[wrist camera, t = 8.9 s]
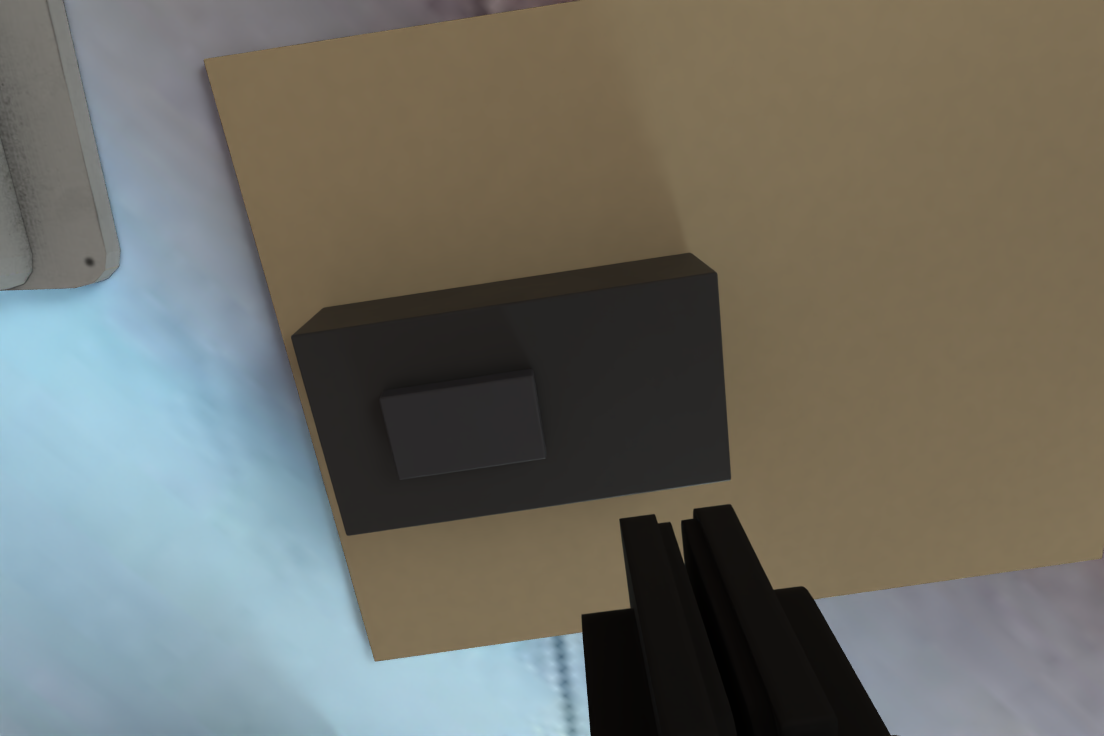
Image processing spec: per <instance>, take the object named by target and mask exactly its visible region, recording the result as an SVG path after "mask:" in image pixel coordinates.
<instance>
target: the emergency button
mask: <svg viewBox="0 0 1104 736" xmlns="http://www.w3.org/2000/svg"><path fill="white" fill-rule="evenodd" d="M119 260H120V246H119V242H118V238H117V233H116V229H115V225H114V220H113V216H112V212H111V207H110V203H109V198H108V194H107V190H106V185H105V181H104V177H103V172H102V168H101V164H100V159H99V155H98V151H97V146H96V142H95V137H94V133H93V129H92V124H91V120H90V116H89V111H88V107H87V103H86V98H85V94H84V90H83V85H82V81H81V76H80V72H79V68H78V63H77V59H76V55H75V50H74V46H73V42H72V37H71V33H70V29H69V24H68V20H67V15H66V11H65V7H64V2H63V0H0V291H4V290H34V289H64V288H77V287H81V286H85V285H89V284H92V283H96V282H99V281H102V280H105V279H108V278H109V277H110V276H111V275H112V274H113V272H114V271H115V270H116V269H117V268H118V267H119Z"/></svg>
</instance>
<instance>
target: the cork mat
mask: <svg viewBox="0 0 1104 736" xmlns="http://www.w3.org/2000/svg"><path fill="white" fill-rule="evenodd" d="M204 63H205V67H206V71H207V74H208V78H209V81H210V85H211V88H212V92H213V95H214V99H215V102H216V106H217V109H218V113H219V116H220V120H221V123H222V127H223V130H224V134H225V137H226V141H227V144H228V148H229V151H230V155H231V158H232V162H233V165H234V169H235V172H236V176H237V179H238V183H239V186H240V190H241V193H242V197H243V200H244V204H245V207H246V211H247V214H248V218H249V221H250V225H251V229H252V232H253V236H254V239H255V243H256V246H257V250H258V253H259V257H260V260H261V264H262V267H263V271H264V274H265V278H266V281H267V285H268V288H269V292H270V295H271V299H272V302H273V306H274V309H275V313H276V316H277V320H278V323H279V327H280V330H281V334H282V337H283V341H284V344H285V348H286V351H287V355H288V358H289V362H290V365H291V369H292V372H293V376H294V379H295V383H296V387H297V390H298V394H299V397H300V401H301V404H302V408H303V411H304V415H305V418H306V422H307V425H308V429H309V432H310V436H311V439H312V443H313V446H314V450H315V453H316V457H317V460H318V464H319V467H320V471H321V474H322V478H323V481H324V485H325V488H326V492H327V495H328V499H329V502H330V506H331V509H332V513H333V516H334V520H335V523H336V527H337V530H338V534H339V537H340V541H341V545H342V548H343V552H344V555H345V559H346V562H347V566H348V569H349V573H350V576H351V580H352V583H353V587H354V590H355V594H356V597H357V601H358V604H359V608H360V611H361V615H362V618H363V622H364V625H365V629H366V632H367V636H368V639H369V643H370V646H371V650H372V653H373V657H374V660H375V661H383V660H390V659H397V658H404V657H411V656H418V655H425V654H432V653H439V652H446V651H453V650H460V649H467V648H474V647H481V646H488V645H495V644H502V643H509V642H516V641H523V640H530V639H538V638H545V637H552V636H559V635H566V634H573V633H580V632H582V620H581V614H589V613H596V612H604V611H612V610H620V609H627V608H630V601H629V593H628V585H627V577H626V570H625V562H624V554H623V547H622V539H621V531H620V522H619V519H620V518H627V517H635V516H642V515H650V514H655V516H656V519H657V522H658V523H664V522H671V524H672V527H673V530H674V533H675V536H676V539H677V542H678V546H679V549H680V552H681V555H682V558H683V561H684V553H683V542H682V532H681V520H686V519H693V510H694V509H695V508H702V507H710V506H717V505H725V504H731V505H732V507H733V509H734V511H735V513H736V515H737V517H738V519H739V521H740V523H741V525H742V527H743V529H744V531H745V533H746V535H747V537H748V539H749V541H750V543H751V545H752V547H753V549H754V551H755V553H756V555H757V557H758V559H759V561H760V563H761V565H762V567H763V569H764V571H765V573H766V575H767V577H768V579H769V581H770V583H771V586H772V588H773V590H774V589H782V588H790V587H798V586H803V587H805V588H806V589H807V590H808V591H809V593H810V594H811V596H812V597H813V599H819V598H826V597H833V596H840V595H847V594H855V593H862V592H869V591H876V590H883V589H890V588H897V587H904V586H911V585H918V584H925V583H932V582H939V581H946V580H953V579H960V578H967V577H974V576H981V575H988V574H995V573H1002V572H1009V571H1017V570H1024V569H1031V568H1038V567H1045V566H1052V565H1059V564H1066V563H1073V562H1080V561H1087V560H1094V559H1101V558H1102V553H1103V545H1104V0H579V1H573V2H566V3H560V4H554V5H547V6H541V7H534V8H528V9H522V10H515V11H509V12H503V13H496V14H490V15H483V16H477V17H471V18H464V19H458V20H451V21H445V22H439V23H432V24H426V25H419V26H413V27H407V28H400V29H394V30H387V31H381V32H375V33H368V34H362V35H355V36H349V37H343V38H336V39H330V40H323V41H317V42H311V43H304V44H298V45H292V46H285V47H279V48H272V49H266V50H260V51H253V52H247V53H240V54H234V55H228V56H221V57H215V58H208V59H204ZM683 253H692V254H694V255H695V256H696V257H697V258H699V259H700V260H701V261H703V262H704V263H705V264H707V265H708V266H709V267H710V268H712V269H713V270H714V271H716V272H717V274H718V288H719V303H720V317H721V332H722V347H723V362H724V377H725V392H726V407H727V421H728V436H729V451H730V466H731V480H730V481H724V482H717V483H710V484H703V485H696V486H689V487H682V488H675V489H668V490H662V491H655V492H648V493H641V494H634V495H627V496H620V497H613V498H606V499H599V500H593V501H586V502H579V503H572V504H565V505H558V506H551V507H544V508H537V509H530V510H524V511H517V512H510V513H503V514H496V515H489V516H482V517H475V518H468V519H461V520H455V521H448V522H441V523H434V524H427V525H420V526H413V527H406V528H399V529H392V530H386V531H379V532H372V533H365V534H358V535H351V536H347V535H346V532H345V529H344V525H343V522H342V518H341V515H340V511H339V507H338V504H337V500H336V497H335V493H334V490H333V486H332V483H331V479H330V475H329V472H328V468H327V465H326V461H325V458H324V454H323V450H322V447H321V443H320V440H319V436H318V433H317V429H316V426H315V422H314V418H313V415H312V411H311V408H310V404H309V401H308V397H307V394H306V390H305V386H304V383H303V379H302V376H301V372H300V369H299V365H298V361H297V358H296V354H295V351H294V347H293V344H292V340H291V336H292V335H293V334H294V333H295V332H296V331H297V330H298V329H300V328H301V327H302V326H303V325H304V324H305V323H306V322H307V321H309V320H310V319H311V318H312V317H313V316H314V315H315V314H317V313H318V312H319V311H320V310H321V309H322V308H324V307H330V306H337V305H344V304H350V303H357V302H364V301H370V300H377V299H384V298H390V297H397V296H404V295H410V294H417V293H424V292H430V291H437V290H444V289H450V288H457V287H464V286H470V285H477V284H484V283H490V282H497V281H503V280H510V279H517V278H523V277H530V276H537V275H543V274H550V273H557V272H563V271H570V270H577V269H583V268H590V267H597V266H603V265H610V264H617V263H623V262H630V261H637V260H643V259H650V258H657V257H663V256H670V255H677V254H683ZM684 564H685V563H684Z"/></svg>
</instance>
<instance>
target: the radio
mask: <svg viewBox="0 0 1104 736" xmlns="http://www.w3.org/2000/svg"><path fill="white" fill-rule="evenodd" d="M291 340H292V344H293V347H294V351H295V354H296V358H297V361H298V365H299V369H300V372H301V376H302V379H303V383H304V386H305V390H306V394H307V397H308V401H309V404H310V408H311V411H312V415H313V418H314V422H315V426H316V429H317V433H318V436H319V440H320V443H321V447H322V450H323V454H324V458H325V461H326V465H327V468H328V472H329V475H330V479H331V483H332V486H333V490H334V493H335V497H336V500H337V504H338V507H339V511H340V515H341V518H342V522H343V525H344V529H345V532H346V535H347V536H351V535H358V534H365V533H372V532H379V531H386V530H392V529H399V528H406V527H413V526H420V525H427V524H434V523H441V522H448V521H455V520H461V519H468V518H475V517H482V516H489V515H496V514H503V513H510V512H517V511H524V510H530V509H537V508H544V507H551V506H558V505H565V504H572V503H579V502H586V501H593V500H599V499H606V498H613V497H620V496H627V495H634V494H641V493H648V492H655V491H662V490H668V489H675V488H682V487H689V486H696V485H703V484H710V483H717V482H724V481H730V480H731V466H730V451H729V436H728V421H727V407H726V392H725V377H724V362H723V347H722V332H721V317H720V303H719V288H718V274H717V272H716V271H714V270H713V269H712V268H710V267H709V266H708V265H707V264H705V263H704V262H703V261H701V260H700V259H699V258H697V257H696V256H695V255H694V254H692V253H683V254H677V255H670V256H663V257H657V258H650V259H643V260H637V261H630V262H623V263H617V264H610V265H603V266H597V267H590V268H583V269H577V270H570V271H563V272H557V273H550V274H543V275H537V276H530V277H523V278H517V279H510V280H503V281H497V282H490V283H484V284H477V285H470V286H464V287H457V288H450V289H444V290H437V291H430V292H424V293H417V294H410V295H404V296H397V297H390V298H384V299H377V300H370V301H364V302H357V303H350V304H344V305H337V306H330V307H324V308H322V309H321V310H320V311H319V312H318V313H317V314H315V315H314V316H313V317H312V318H311V319H310V320H309V321H307V322H306V323H305V324H304V325H303V326H302V327H301V328H300V329H298V330H297V331H296V332H295V333H294V334H293V335H292V336H291Z"/></svg>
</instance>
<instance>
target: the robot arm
mask: <svg viewBox="0 0 1104 736" xmlns="http://www.w3.org/2000/svg"><path fill="white" fill-rule="evenodd" d="M619 522H620V531H621V539H622V547H623V554H624V562H625V570H626V577H627V585H628V593H629V601H630V608H627V609H620V610H612V611H604V612H596V613H589V614H581V620H582V634H583V646H584V658H585V671H586V683H587V695H588V708H589V720H590V732H591V736H897V735H890V733H889V731H888V729H887V728H886V726H885V724H884V722H883V721H882V719H881V717H880V715H879V714H878V712H877V710H876V708H875V707H874V705H873V703H872V701H871V699H870V698H869V696H868V694H867V692H866V691H865V689H864V687H863V685H862V684H861V682H860V680H859V678H858V677H857V675H856V673H855V671H854V670H853V668H852V666H851V664H850V662H849V661H848V659H847V657H846V655H845V654H844V652H843V650H842V648H841V647H840V645H839V643H838V641H837V640H836V638H835V636H834V634H833V632H832V631H831V629H830V627H829V625H828V624H827V622H826V620H825V618H824V617H823V615H822V613H821V611H820V610H819V608H818V606H817V604H816V603H815V601H814V599H813V597H812V596H811V594H810V593H809V591H808V590H807V589H806V588H805V587H803V586H798V587H790V588H782V589H774V590H773V588H772V586H771V583H770V581H769V579H768V577H767V575H766V573H765V571H764V569H763V567H762V565H761V563H760V561H759V559H758V557H757V555H756V553H755V551H754V549H753V547H752V545H751V543H750V541H749V539H748V537H747V535H746V533H745V531H744V529H743V527H742V525H741V523H740V521H739V519H738V517H737V515H736V513H735V511H734V509H733V507H732V505H731V504H725V505H717V506H710V507H702V508H695V509H694V510H693V519H686V520H681V532H682V542H683V553H684V561H683V558H682V555H681V552H680V549H679V546H678V542H677V539H676V536H675V533H674V530H673V527H672V524H671V522H664V523H658V522H657V519H656V516H655V514H650V515H642V516H635V517H627V518H620V519H619ZM684 563H685V564H684Z"/></svg>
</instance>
